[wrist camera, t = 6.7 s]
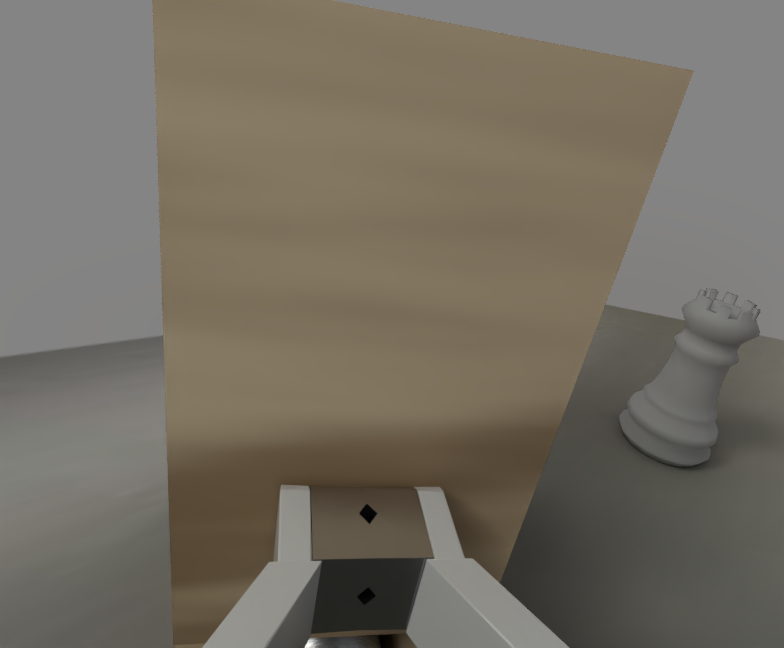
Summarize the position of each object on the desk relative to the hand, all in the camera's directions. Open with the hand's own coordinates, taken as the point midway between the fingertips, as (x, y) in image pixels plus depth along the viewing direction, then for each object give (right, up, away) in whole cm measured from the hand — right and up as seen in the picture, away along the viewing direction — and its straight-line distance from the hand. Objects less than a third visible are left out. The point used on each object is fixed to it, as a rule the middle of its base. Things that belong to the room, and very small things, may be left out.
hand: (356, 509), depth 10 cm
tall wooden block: (-2, -6, +6) cm, 8 cm away
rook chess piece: (+14, -3, +18) cm, 23 cm away
